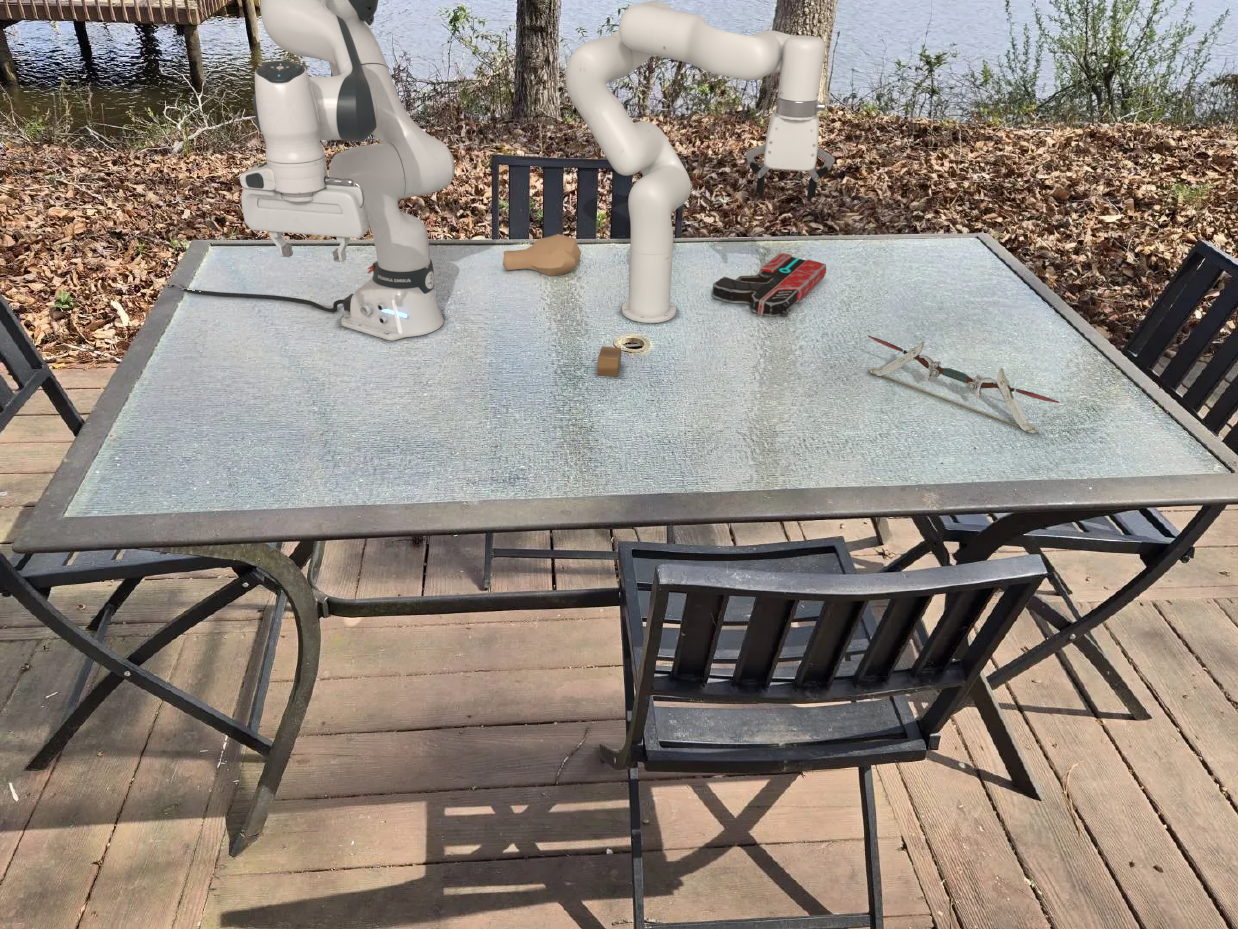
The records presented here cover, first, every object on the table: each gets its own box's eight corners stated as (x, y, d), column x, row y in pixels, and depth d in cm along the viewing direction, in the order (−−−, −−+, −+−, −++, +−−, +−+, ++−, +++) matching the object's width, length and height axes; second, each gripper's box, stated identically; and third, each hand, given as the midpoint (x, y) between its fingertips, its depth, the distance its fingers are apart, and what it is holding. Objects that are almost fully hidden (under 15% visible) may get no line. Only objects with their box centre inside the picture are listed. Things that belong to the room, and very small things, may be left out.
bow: (1049, 436, 162) (1066, 388, 156) (1045, 439, 161) (1062, 391, 155) (863, 366, 183) (872, 322, 178) (859, 369, 182) (867, 325, 176)
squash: (582, 279, 220) (577, 247, 214) (504, 286, 221) (496, 255, 215) (583, 257, 228) (579, 225, 221) (508, 264, 229) (501, 233, 223)
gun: (708, 284, 207) (784, 305, 199) (760, 245, 229) (831, 262, 221) (706, 302, 209) (781, 323, 201) (758, 261, 231) (828, 278, 223)
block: (617, 376, 177) (617, 358, 175) (597, 375, 178) (598, 357, 175) (620, 365, 181) (621, 347, 179) (601, 363, 182) (602, 346, 180)
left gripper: (369, 173, 141) (379, 256, 149) (249, 165, 143) (266, 247, 151) (353, 185, 136) (365, 270, 143) (229, 176, 138) (247, 260, 146)
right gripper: (841, 106, 169) (827, 195, 178) (751, 101, 171) (742, 189, 180) (843, 114, 163) (829, 206, 172) (750, 109, 165) (741, 200, 174)
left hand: (313, 258), depth 147 cm, fingers open, 8 cm apart
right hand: (784, 197), depth 176 cm, fingers open, 9 cm apart
